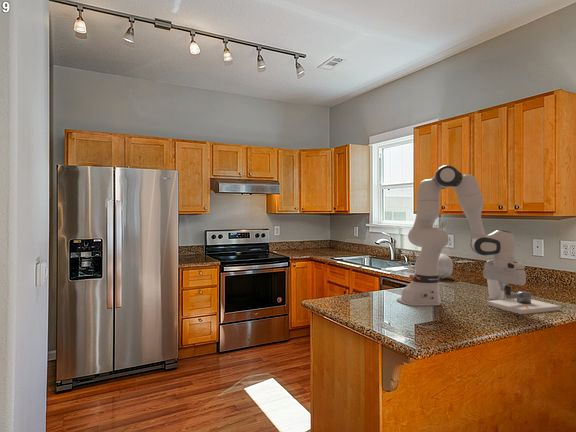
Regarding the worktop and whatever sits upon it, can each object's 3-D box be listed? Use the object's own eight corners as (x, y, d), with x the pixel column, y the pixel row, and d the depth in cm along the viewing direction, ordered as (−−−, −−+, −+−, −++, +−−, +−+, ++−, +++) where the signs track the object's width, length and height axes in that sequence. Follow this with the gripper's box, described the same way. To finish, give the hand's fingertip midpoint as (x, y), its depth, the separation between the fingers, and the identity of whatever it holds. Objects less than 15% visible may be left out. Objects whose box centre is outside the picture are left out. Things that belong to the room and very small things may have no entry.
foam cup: (495, 301, 192) (496, 276, 192) (482, 297, 201) (482, 274, 201) (510, 300, 195) (510, 276, 195) (496, 296, 204) (496, 273, 204)
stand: (519, 314, 167) (520, 309, 167) (487, 304, 185) (487, 300, 185) (559, 310, 176) (560, 305, 176) (525, 301, 193) (525, 297, 193)
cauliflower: (426, 264, 284) (428, 241, 272) (456, 279, 267) (460, 256, 255) (409, 277, 274) (411, 254, 263) (439, 293, 257) (443, 270, 245)
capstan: (521, 300, 186) (522, 283, 186) (533, 303, 180) (534, 285, 180) (500, 303, 179) (500, 285, 179) (512, 306, 174) (512, 287, 174)
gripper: (480, 260, 187) (480, 287, 188) (519, 266, 169) (519, 295, 169) (489, 260, 190) (488, 286, 190) (528, 265, 171) (527, 294, 171)
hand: (503, 291), depth 179 cm, fingers closed
